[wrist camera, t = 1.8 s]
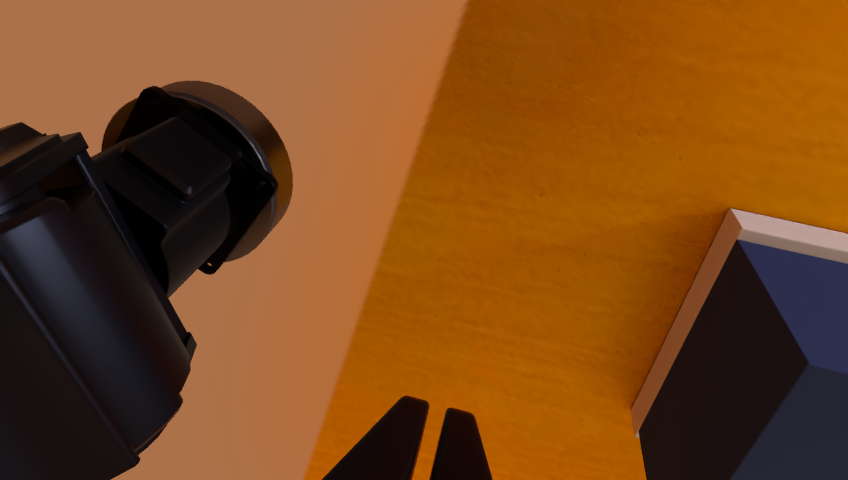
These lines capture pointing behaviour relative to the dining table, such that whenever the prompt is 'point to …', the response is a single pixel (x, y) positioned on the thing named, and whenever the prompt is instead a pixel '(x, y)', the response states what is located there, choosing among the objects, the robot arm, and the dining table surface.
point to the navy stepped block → (754, 361)
